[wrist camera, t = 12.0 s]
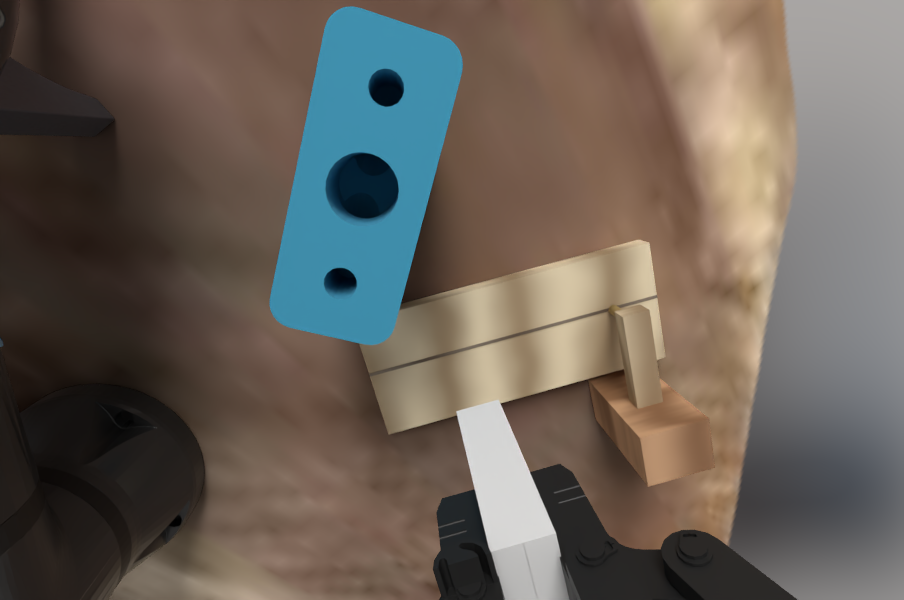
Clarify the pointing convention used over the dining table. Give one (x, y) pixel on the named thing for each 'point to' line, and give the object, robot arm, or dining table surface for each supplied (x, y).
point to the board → (510, 336)
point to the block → (363, 175)
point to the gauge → (649, 408)
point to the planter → (40, 95)
